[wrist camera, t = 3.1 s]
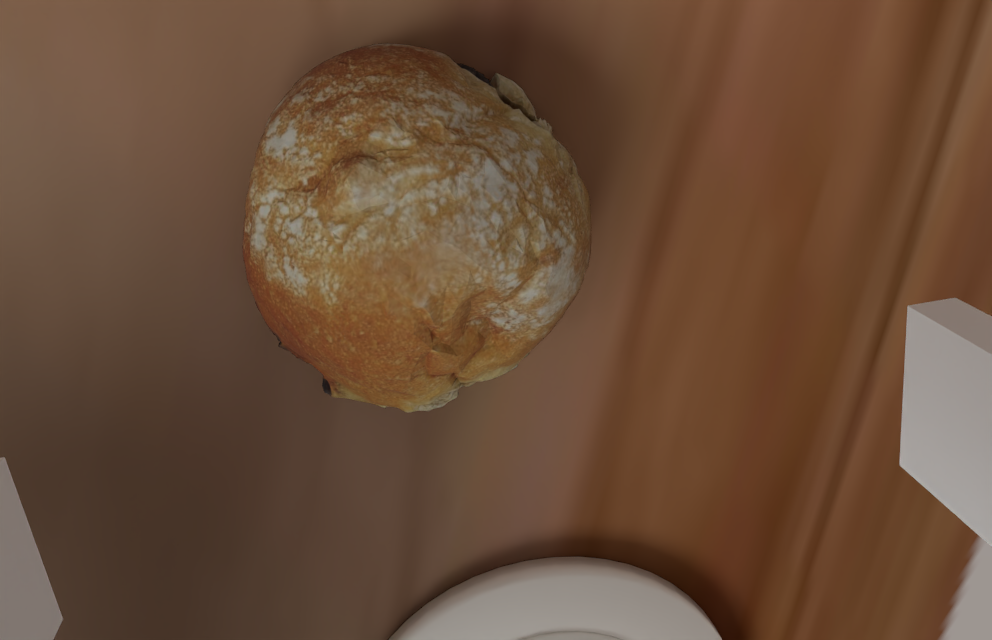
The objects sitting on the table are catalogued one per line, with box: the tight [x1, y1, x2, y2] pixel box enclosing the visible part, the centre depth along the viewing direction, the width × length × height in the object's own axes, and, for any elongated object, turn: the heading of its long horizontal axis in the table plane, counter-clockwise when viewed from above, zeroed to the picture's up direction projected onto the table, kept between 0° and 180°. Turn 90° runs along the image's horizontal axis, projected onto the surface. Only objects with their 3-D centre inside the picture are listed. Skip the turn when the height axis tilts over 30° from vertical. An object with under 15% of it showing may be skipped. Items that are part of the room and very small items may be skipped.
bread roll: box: [242, 43, 591, 413], centre depth 25 cm, size 10×10×8 cm
